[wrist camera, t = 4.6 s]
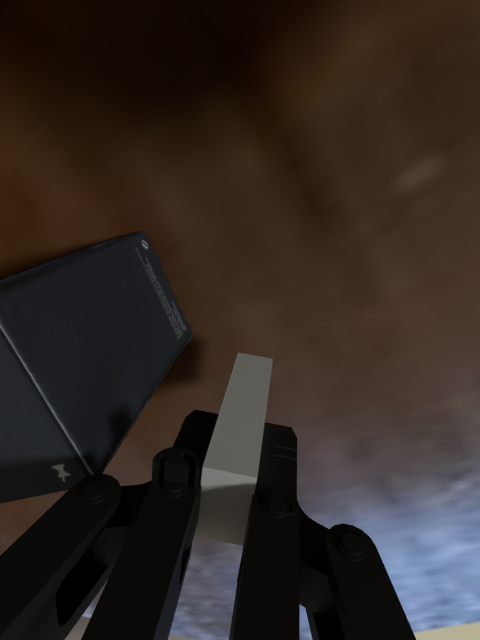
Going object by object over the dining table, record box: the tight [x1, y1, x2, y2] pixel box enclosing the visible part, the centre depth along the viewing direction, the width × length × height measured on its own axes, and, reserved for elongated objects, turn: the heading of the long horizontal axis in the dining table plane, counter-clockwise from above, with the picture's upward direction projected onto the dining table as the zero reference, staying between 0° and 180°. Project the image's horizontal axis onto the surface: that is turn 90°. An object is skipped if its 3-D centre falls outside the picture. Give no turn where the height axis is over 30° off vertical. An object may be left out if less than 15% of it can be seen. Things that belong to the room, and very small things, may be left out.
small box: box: [0, 231, 193, 504], centre depth 16 cm, size 11×6×10 cm, turn 111°
